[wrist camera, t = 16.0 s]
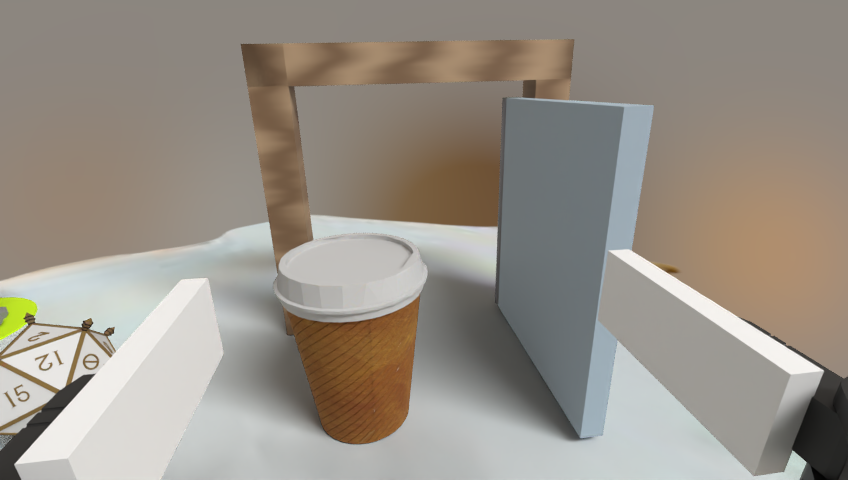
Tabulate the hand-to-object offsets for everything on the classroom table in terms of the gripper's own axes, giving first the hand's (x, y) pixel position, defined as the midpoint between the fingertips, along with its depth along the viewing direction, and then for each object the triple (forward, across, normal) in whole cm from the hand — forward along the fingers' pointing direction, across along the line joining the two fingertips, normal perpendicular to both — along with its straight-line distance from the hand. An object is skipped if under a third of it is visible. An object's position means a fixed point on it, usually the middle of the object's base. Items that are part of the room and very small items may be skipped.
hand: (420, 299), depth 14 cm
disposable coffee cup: (+12, -3, -16) cm, 20 cm away
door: (+16, +13, -14) cm, 25 cm away
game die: (+14, -23, -16) cm, 31 cm away
